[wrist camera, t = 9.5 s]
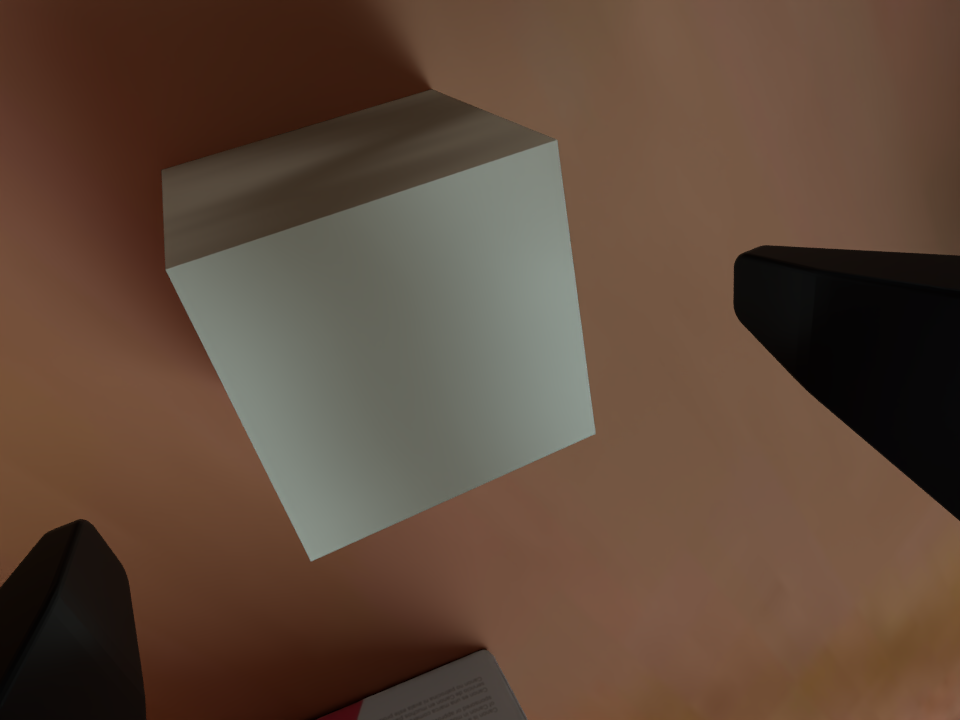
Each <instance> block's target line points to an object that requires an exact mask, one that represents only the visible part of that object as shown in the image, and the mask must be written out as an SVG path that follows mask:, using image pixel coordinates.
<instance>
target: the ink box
mask: <svg viewBox="0 0 960 720" xmlns="http://www.w3.org/2000/svg"><path fill="white" fill-rule="evenodd" d="M316 720H527V718H526V716H525V714H524V712H523V710H522V708H521V706H520V704H519V702H518V700H517V698H516V697H515V695H514V693H513V691H512V689H511V687H510V685H509V684H508V682H507V680H506V678H505V676H504V674H503V672H502V670H501V669H500V667H499V665H498V663H497V661H496V659H495V658H494V656H493V655H492V654H491V653H490V652H489V651H487V650H481V651H478V652H475V653H473V654H470V655H468V656H466V657H463V658H461V659H459V660H456V661H454V662H451V663H449V664H446V665H444V666H442V667H439V668H437V669H435V670H432V671H430V672H427V673H425V674H423V675H420V676H418V677H415V678H413V679H411V680H408V681H406V682H403V683H401V684H399V685H396V686H394V687H391V688H389V689H387V690H385V691H382V692H380V693H377V694H375V695H372V696H370V697H367V698H365V699H363V700H361V701H359V702H356V703H354V704H352V705H349V706H347V707H345V708H342V709H340V710H337V711H335V712H333V713H330V714H328V715H325V716H323V717H320V718H318V719H316Z"/></svg>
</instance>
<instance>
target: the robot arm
mask: <svg viewBox="0 0 960 720" xmlns="http://www.w3.org/2000/svg"><path fill="white" fill-rule="evenodd" d="M733 304H734V310H735V313H736V316H737V317H738V319H739V321H740V322H741V323H742V324H743V325H744V326H745V327H746V328H747V329H748V330H749V331H750V332H751V333H752V334H753V336H754V337H755V338H756V339H757V340H758V341H759V342H760V343H761V344H762V345H763V346H764V347H765V348H766V349H767V350H768V351H769V352H770V353H771V354H772V355H773V356H774V357H775V358H776V360H777V361H778V362H779V363H780V364H781V365H782V366H783V367H784V368H785V369H786V370H787V371H788V372H789V373H790V374H791V375H792V376H793V377H794V378H795V379H796V380H797V381H798V382H799V383H800V384H801V385H802V386H803V387H804V388H805V389H806V390H807V391H808V392H809V393H810V394H811V395H812V396H814V397H815V398H816V399H817V400H818V401H819V402H820V403H822V404H823V405H824V406H825V407H826V408H827V409H829V410H830V411H831V412H832V413H833V414H834V415H836V416H837V417H838V418H839V419H840V420H842V421H843V422H844V423H845V424H846V425H847V426H849V427H850V428H851V429H852V430H853V431H854V432H856V433H857V434H858V435H859V436H860V437H862V438H863V439H864V440H865V441H866V442H867V443H869V444H870V445H871V446H872V447H873V448H874V449H876V450H877V451H878V452H879V453H880V454H882V455H883V456H884V457H885V458H886V459H887V460H889V461H890V462H891V463H892V464H893V465H894V466H896V467H897V468H898V469H899V470H900V471H902V472H903V473H904V474H905V475H906V476H907V477H909V478H910V479H911V480H912V481H913V482H914V483H916V484H917V485H918V486H919V487H920V488H922V489H923V490H924V491H925V492H926V493H927V494H929V495H930V496H931V497H932V498H933V499H934V500H936V501H937V502H938V503H939V504H940V505H942V506H943V507H944V508H945V509H946V510H947V511H949V512H950V513H951V514H952V515H953V516H955V517H956V518H957V519H958V520H959V521H960V256H957V255H938V254H919V253H900V252H882V251H863V250H844V249H825V248H807V247H788V246H769V245H764V246H759V247H757V248H754V249H752V250H749V251H747V252H745V253H742V254H740V255H739V256H738V257H737V259H736V261H735V263H734V300H733ZM0 720H146V704H145V692H144V684H143V676H142V669H141V662H140V655H139V649H138V642H137V635H136V628H135V621H134V615H133V608H132V601H131V594H130V587H129V581H128V578H127V575H126V572H125V570H124V568H123V566H122V564H121V563H120V561H119V560H118V558H117V557H116V556H115V554H114V553H113V552H112V550H111V549H110V547H109V546H108V545H107V543H106V542H105V541H104V539H103V538H102V536H101V535H100V534H99V532H98V531H97V530H96V528H95V527H94V526H93V525H92V524H91V523H90V522H88V521H87V520H83V519H79V520H76V521H74V522H71V523H69V524H66V525H64V526H61V527H59V528H56V529H54V530H51V531H49V532H47V533H46V534H45V535H44V536H43V537H42V538H41V539H40V540H39V541H38V543H37V544H36V545H35V546H34V547H33V549H32V550H31V551H30V552H29V554H28V555H27V556H26V557H25V558H24V560H23V561H22V562H21V563H20V564H19V566H18V567H17V568H16V569H15V570H14V572H13V573H12V574H11V575H10V577H9V578H8V579H7V580H6V581H5V583H4V584H3V585H2V586H1V587H0Z"/></svg>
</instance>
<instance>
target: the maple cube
mask: <svg viewBox="0 0 960 720" xmlns="http://www.w3.org/2000/svg"><path fill="white" fill-rule="evenodd" d="M162 195H163V220H164V246H165V270H166V272H167V274H168V276H169V278H170V280H171V282H172V284H173V286H174V288H175V290H176V292H177V294H178V296H179V298H180V300H181V302H182V304H183V306H184V308H185V310H186V312H187V314H188V316H189V318H190V320H191V322H192V324H193V326H194V328H195V330H196V332H197V334H198V336H199V338H200V340H201V342H202V344H203V346H204V348H205V350H206V352H207V354H208V356H209V358H210V360H211V362H212V364H213V366H214V368H215V370H216V372H217V374H218V376H219V378H220V380H221V382H222V384H223V386H224V388H225V390H226V392H227V394H228V396H229V398H230V400H231V402H232V404H233V406H234V408H235V410H236V412H237V414H238V416H239V418H240V420H241V422H242V424H243V426H244V428H245V430H246V432H247V434H248V436H249V438H250V440H251V442H252V444H253V446H254V448H255V450H256V452H257V454H258V456H259V458H260V460H261V462H262V464H263V466H264V468H265V470H266V472H267V474H268V476H269V478H270V480H271V482H272V484H273V486H274V488H275V490H276V492H277V494H278V496H279V498H280V500H281V502H282V504H283V506H284V508H285V510H286V512H287V514H288V516H289V518H290V520H291V522H292V524H293V526H294V528H295V530H296V532H297V534H298V536H299V538H300V540H301V542H302V544H303V546H304V549H305V551H306V553H307V555H308V557H309V559H310V561H313V560H315V559H318V558H320V557H322V556H324V555H327V554H329V553H331V552H333V551H335V550H338V549H340V548H342V547H344V546H347V545H349V544H351V543H353V542H355V541H358V540H360V539H362V538H364V537H367V536H369V535H371V534H373V533H376V532H378V531H380V530H382V529H384V528H387V527H389V526H391V525H393V524H396V523H398V522H400V521H402V520H404V519H407V518H409V517H411V516H413V515H416V514H418V513H420V512H422V511H424V510H427V509H429V508H431V507H433V506H436V505H438V504H440V503H442V502H445V501H447V500H449V499H451V498H453V497H456V496H458V495H460V494H462V493H465V492H467V491H469V490H471V489H473V488H476V487H478V486H480V485H482V484H485V483H487V482H489V481H491V480H494V479H496V478H498V477H500V476H502V475H505V474H507V473H509V472H511V471H514V470H516V469H518V468H520V467H522V466H525V465H527V464H529V463H531V462H534V461H536V460H538V459H540V458H543V457H545V456H547V455H549V454H551V453H554V452H556V451H558V450H560V449H563V448H565V447H567V446H569V445H571V444H574V443H576V442H578V441H580V440H583V439H585V438H587V437H589V436H592V435H594V434H595V426H594V418H593V411H592V403H591V396H590V388H589V380H588V373H587V365H586V357H585V350H584V342H583V334H582V327H581V319H580V312H579V304H578V296H577V289H576V281H575V273H574V266H573V258H572V250H571V243H570V235H569V228H568V220H567V212H566V205H565V197H564V189H563V182H562V174H561V166H560V159H559V151H558V144H557V140H556V139H554V138H551V137H549V136H546V135H544V134H541V133H539V132H536V131H534V130H531V129H529V128H527V127H524V126H522V125H519V124H517V123H514V122H512V121H509V120H507V119H504V118H502V117H499V116H497V115H494V114H492V113H489V112H487V111H484V110H482V109H479V108H477V107H474V106H472V105H469V104H467V103H465V102H462V101H460V100H457V99H455V98H452V97H450V96H447V95H445V94H442V93H440V92H437V91H435V90H432V89H431V90H428V91H425V92H421V93H418V94H415V95H411V96H408V97H404V98H401V99H398V100H394V101H391V102H388V103H384V104H381V105H378V106H374V107H371V108H368V109H364V110H361V111H358V112H354V113H351V114H348V115H344V116H341V117H338V118H334V119H331V120H327V121H324V122H321V123H317V124H314V125H311V126H307V127H304V128H301V129H297V130H294V131H291V132H287V133H284V134H281V135H277V136H274V137H271V138H267V139H264V140H260V141H257V142H254V143H250V144H247V145H244V146H240V147H237V148H234V149H230V150H227V151H224V152H220V153H217V154H214V155H210V156H207V157H204V158H200V159H197V160H194V161H190V162H187V163H183V164H180V165H177V166H173V167H170V168H167V169H163V170H162Z"/></svg>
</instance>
